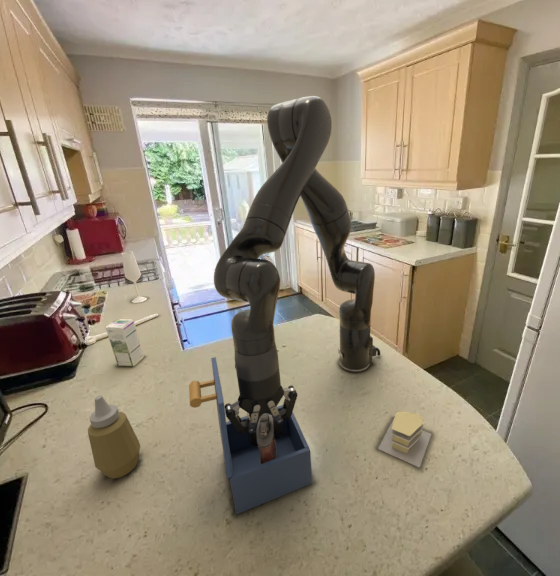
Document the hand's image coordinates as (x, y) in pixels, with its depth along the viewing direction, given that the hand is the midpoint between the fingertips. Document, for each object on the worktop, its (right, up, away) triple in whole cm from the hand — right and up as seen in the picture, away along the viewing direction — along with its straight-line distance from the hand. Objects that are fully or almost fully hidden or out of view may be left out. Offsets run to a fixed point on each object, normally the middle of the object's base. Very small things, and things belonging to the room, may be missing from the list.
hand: (266, 438), depth 61 cm
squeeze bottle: (-31, -8, +4) cm, 32 cm away
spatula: (-68, +13, +63) cm, 94 cm away
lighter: (0, -5, +2) cm, 5 cm away
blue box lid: (-7, +7, -6) cm, 12 cm away
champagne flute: (-78, +24, +91) cm, 123 cm away
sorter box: (0, -7, +3) cm, 8 cm away
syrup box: (-52, +5, +41) cm, 66 cm away
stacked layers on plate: (+30, -5, +8) cm, 31 cm away
